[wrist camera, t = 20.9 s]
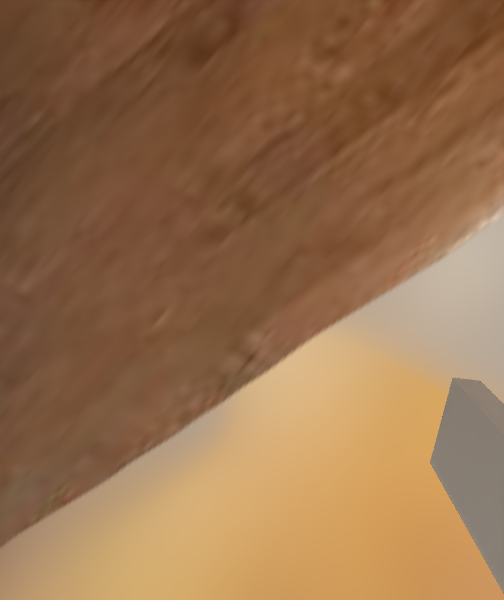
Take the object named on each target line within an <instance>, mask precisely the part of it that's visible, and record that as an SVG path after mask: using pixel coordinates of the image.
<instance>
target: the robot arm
mask: <svg viewBox="0 0 504 600" xmlns="http://www.w3.org/2000/svg"><path fill="white" fill-rule="evenodd" d="M430 463H431V465H432V467H433V469H434V470H435V472H436V474H437V476H438V478H439V479H440V481H441V483H442V485H443V487H444V488H445V490H446V492H447V494H448V495H449V497H450V499H451V501H452V503H453V504H454V506H455V508H456V510H457V511H458V513H459V515H460V517H461V519H462V520H463V522H464V524H465V525H466V527H467V529H468V531H469V533H470V535H471V536H472V538H473V540H474V542H475V543H476V545H477V547H478V549H479V550H480V552H481V554H482V556H483V557H484V559H485V561H486V563H487V565H488V566H489V568H490V570H491V571H492V574H493V575H494V577H495V579H496V581H497V582H498V584H499V586H500V588H501V590H502V591H503V593H504V404H503V403H502V402H501V401H500V400H499V399H498V398H497V397H496V396H495V395H494V394H493V393H492V392H491V391H490V390H489V389H488V388H487V387H486V386H485V385H484V384H483V383H482V382H481V381H476V380H468V379H460V378H453V379H452V382H451V387H450V390H449V394H448V398H447V401H446V405H445V409H444V412H443V416H442V420H441V424H440V428H439V431H438V435H437V439H436V442H435V446H434V450H433V454H432V458H431V461H430Z"/></svg>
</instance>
